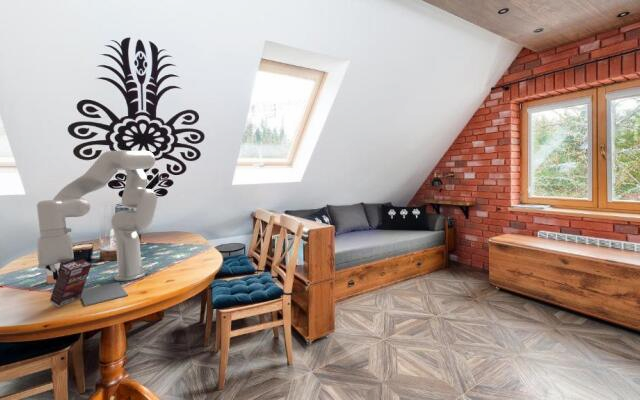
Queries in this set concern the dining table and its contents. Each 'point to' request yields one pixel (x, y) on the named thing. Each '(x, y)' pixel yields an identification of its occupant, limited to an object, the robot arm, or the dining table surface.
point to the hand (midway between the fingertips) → (58, 280)
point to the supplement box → (70, 282)
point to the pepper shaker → (50, 274)
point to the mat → (102, 293)
